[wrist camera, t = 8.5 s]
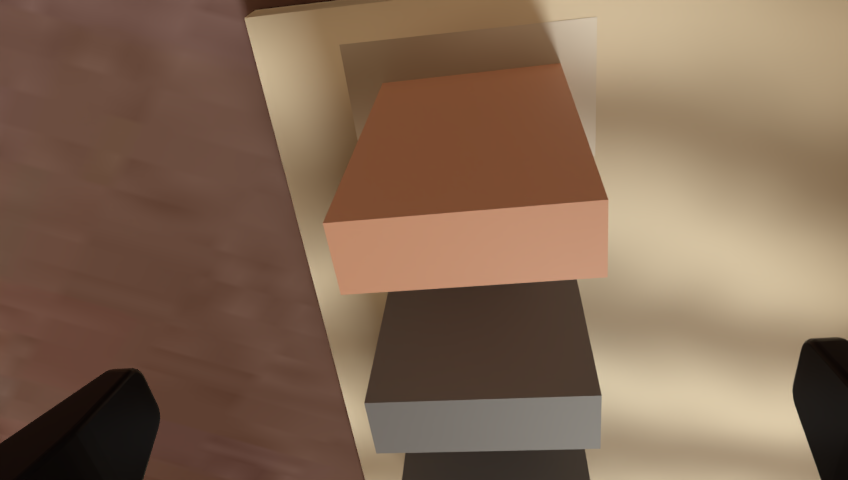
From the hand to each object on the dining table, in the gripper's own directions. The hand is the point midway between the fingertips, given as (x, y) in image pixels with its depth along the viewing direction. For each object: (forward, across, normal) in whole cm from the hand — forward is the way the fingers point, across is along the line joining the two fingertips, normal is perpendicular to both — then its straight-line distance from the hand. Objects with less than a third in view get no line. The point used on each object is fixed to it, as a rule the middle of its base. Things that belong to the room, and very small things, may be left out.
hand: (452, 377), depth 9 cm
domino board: (+12, -5, +9) cm, 16 cm away
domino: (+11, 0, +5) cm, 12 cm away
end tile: (+11, 0, 0) cm, 11 cm away
